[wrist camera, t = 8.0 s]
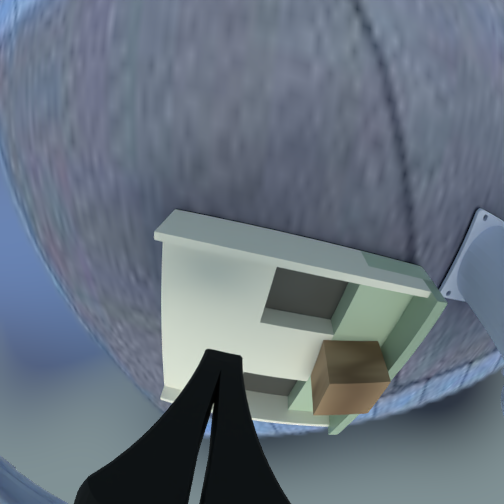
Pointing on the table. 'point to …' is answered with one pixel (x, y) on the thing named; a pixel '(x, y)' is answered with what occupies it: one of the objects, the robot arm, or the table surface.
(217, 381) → the robot arm
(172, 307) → the board
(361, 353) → the walnut block
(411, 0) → the table surface
